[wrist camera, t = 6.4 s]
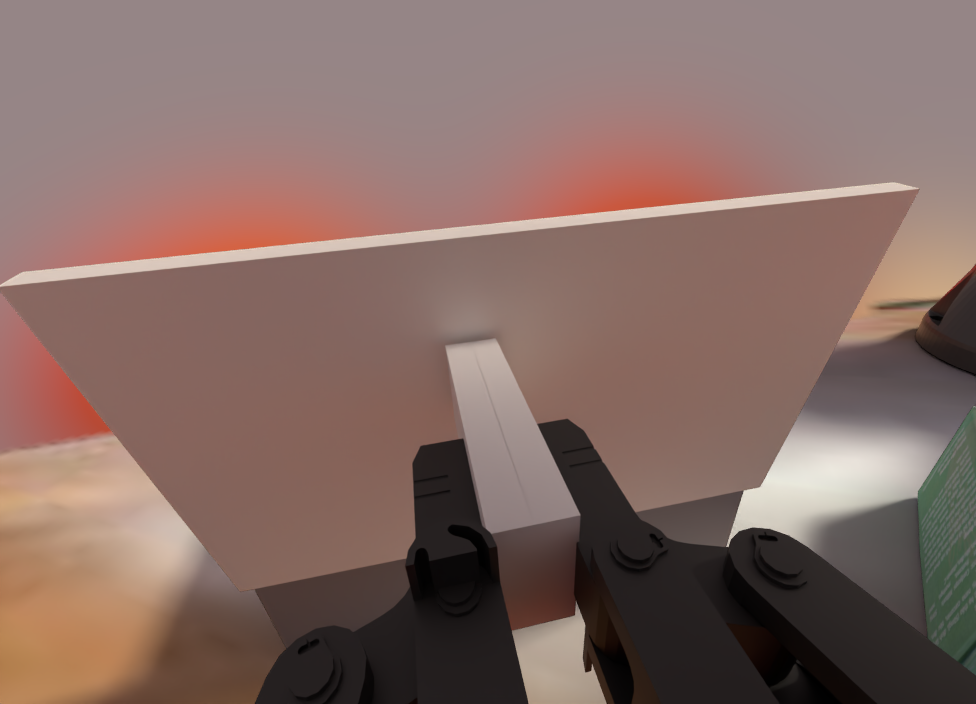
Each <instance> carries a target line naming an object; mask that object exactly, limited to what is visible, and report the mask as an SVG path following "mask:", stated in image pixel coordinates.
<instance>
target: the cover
mask: <svg viewBox="0 0 976 704" xmlns="http://www.w3.org/2000/svg"><path fill="white" fill-rule="evenodd" d="M919 190H920V189H919V188H914V187H911V186H907V185H903V184H899V183H895V182H892V183H883V184H873V185H863V186H853V187H845V188H844V187H843V188H834V189H825V190H814V191H805V192H795V193H785V194H775V195H766V196H757V197H746V198H737V199H728V200H717V201H708V202H698V203H689V204H679V205H669V206H660V207H650V208H640V209H630V210H620V211H611V212H602V213H591V214H582V215H572V216H562V217H553V218H543V219H533V220H523V221H514V222H504V223H494V224H485V225H476V226H465V227H456V228H446V229H436V230H427V231H417V232H407V233H398V234H388V235H378V236H368V237H359V238H349V239H339V240H330V241H320V242H311V243H300V244H292V245H281V246H271V247H262V248H253V249H242V250H233V251H224V252H214V253H205V254H194V255H184V256H174V257H166V258H155V259H145V260H136V261H126V262H116V263H107V264H97V265H87V266H78V267H68V268H59V269H49V270H39V271H29V272H22V273H20V274H18V275H17V276H15V277H13V278H11V279H10V280H8V281H6V282H4V283H3V284H1V285H0V292H1V293H2V294H3V296H4V297H5V298H6V299H7V301H8V302H9V303H10V305H11V306H12V307H13V308H14V309H15V311H16V312H17V313H18V315H19V316H20V317H21V318H22V320H23V321H24V322H25V323H26V324H27V326H28V327H29V328H30V330H31V331H32V332H33V333H34V335H35V336H36V337H37V338H38V339H39V341H40V342H41V343H42V344H43V346H44V347H45V348H46V349H47V351H48V352H49V353H50V355H51V356H52V357H53V358H54V360H55V361H56V362H57V363H58V365H59V366H60V367H61V368H62V369H63V371H64V372H65V373H66V375H67V376H68V377H69V378H70V379H71V381H72V382H73V383H74V385H75V386H76V387H77V388H78V390H79V391H80V392H81V393H82V395H83V396H84V397H85V398H86V400H87V401H88V402H89V403H90V405H91V406H92V407H93V408H94V410H95V411H96V412H97V413H98V414H99V416H100V417H101V418H102V420H103V421H104V422H105V423H106V425H107V426H108V427H109V428H110V430H111V431H112V432H113V433H114V435H115V436H116V437H117V438H118V440H119V441H120V442H121V443H122V445H123V446H124V447H125V448H126V450H127V451H128V452H129V453H130V455H131V456H132V457H133V458H134V460H135V461H136V462H137V463H138V465H139V466H140V467H141V468H142V470H143V471H144V472H145V473H146V475H147V476H148V477H149V478H150V480H151V481H152V482H153V483H154V485H155V486H156V487H157V488H158V490H159V491H160V492H161V493H162V495H163V496H164V497H165V498H166V500H167V501H168V502H169V503H170V505H171V506H172V507H173V508H174V510H175V511H176V512H177V513H178V515H179V516H180V517H181V518H182V520H183V521H184V522H185V523H186V525H187V526H188V527H189V528H190V530H191V531H192V532H193V533H194V535H195V536H196V537H197V538H198V540H199V541H200V542H201V543H202V545H203V546H204V547H205V548H206V550H207V551H208V552H209V553H210V555H211V556H212V557H213V558H214V560H215V561H216V562H217V563H218V565H219V566H220V567H221V568H222V570H223V571H224V572H225V573H226V575H227V576H228V577H229V578H230V580H231V581H232V582H233V583H234V585H235V586H236V587H237V588H238V590H239V591H240V592H242V591H247V590H252V589H257V588H262V587H267V586H272V585H277V584H282V583H287V582H292V581H297V580H302V579H307V578H312V577H317V576H322V575H327V574H332V573H337V572H342V571H346V570H351V569H356V568H361V567H366V566H371V565H376V564H381V563H386V562H391V561H396V560H401V559H406V558H407V553H408V549H409V548H410V546H411V545H412V543H413V542H414V540H415V538H416V537H415V514H414V491H413V485H414V484H413V468H412V462H413V460H414V458H415V456H416V454H417V452H418V450H419V448H420V446H422V445H428V444H434V443H439V442H445V441H451V440H456V439H458V434H457V429H456V424H455V418H454V410H453V402H452V395H451V387H450V379H449V371H448V364H447V356H446V348H445V345H452V344H459V343H466V342H473V341H479V340H486V339H493V338H496V340H497V342H498V344H499V346H500V348H501V350H502V352H503V354H504V357H505V359H506V361H507V363H508V365H509V367H510V369H511V371H512V373H513V375H514V377H515V379H516V382H517V384H518V386H519V388H520V390H521V392H522V394H523V396H524V398H525V400H526V402H527V405H528V407H529V409H530V411H531V413H532V415H533V417H534V419H535V421H536V423H537V424H540V423H545V422H551V421H557V420H562V419H569V420H570V421H571V422H573V423H574V424H576V425H577V426H578V427H580V428H581V429H582V430H584V432H585V433H586V435H587V436H588V438H589V439H590V441H591V443H592V444H593V446H594V449H596V451H597V452H598V454H599V455H600V457H601V459H602V462H603V463H605V465H606V467H607V468H608V470H609V471H610V473H611V475H612V476H613V478H614V479H615V481H616V483H617V484H618V486H619V487H620V489H621V490H622V492H623V494H624V495H625V497H626V498H627V500H628V502H629V503H630V505H631V506H632V508H633V510H634V511H635V512H639V511H644V510H649V509H654V508H659V507H664V506H669V505H674V504H679V503H684V502H689V501H694V500H699V499H703V498H708V497H713V496H718V495H723V494H728V493H733V492H738V491H743V490H748V489H753V488H758V487H760V486H761V484H762V483H763V481H764V479H765V477H766V475H767V473H768V471H769V469H770V468H771V466H772V464H773V462H774V460H775V458H776V456H777V455H778V453H779V451H780V449H781V447H782V445H783V443H784V442H785V440H786V438H787V436H788V434H789V432H790V430H791V428H792V427H793V425H794V423H795V421H796V419H797V417H798V415H799V414H800V412H801V410H802V408H803V406H804V404H805V402H806V400H807V399H808V397H809V395H810V393H811V391H812V389H813V387H814V386H815V384H816V382H817V380H818V378H819V376H820V374H821V373H822V371H823V369H824V367H825V365H826V363H827V361H828V359H829V358H830V356H831V354H832V352H833V350H834V348H835V346H836V345H837V343H838V341H839V339H840V337H841V335H842V333H843V332H844V330H845V328H846V326H847V324H848V322H849V320H850V318H851V317H852V315H853V313H854V311H855V309H856V307H857V305H858V303H859V302H860V300H861V298H862V296H863V294H864V292H865V290H866V289H867V287H868V285H869V283H870V281H871V279H872V277H873V275H874V274H875V272H876V270H877V268H878V266H879V264H880V263H881V261H882V259H883V257H884V255H885V253H886V251H887V249H888V247H889V246H890V244H891V242H892V240H893V238H894V236H895V235H896V233H897V231H898V229H899V227H900V225H901V223H902V221H903V220H904V218H905V216H906V214H907V212H908V210H909V208H910V206H911V205H912V203H913V201H914V199H915V197H916V195H917V194H918V192H919Z"/></svg>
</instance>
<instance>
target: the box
mask: <svg viewBox="0 0 976 704" xmlns="http://www.w3.org/2000/svg"><path fill="white" fill-rule="evenodd" d="M918 517H919V547H920V559H921V570H922V582H923V593H924V604H925V615H926V625H927V637H928V639H929V640H930V641H931V642H933V643H934V644H935V645H937V646H938V647H939V648H941V649H942V650H943V651H945V652H946V653H947V654H949V655H950V656H951V657H952V658H954V659H955V660H956V661H958V662H959V663H960V664H962V665H963V666H964V667H966V668H967V669H968V670H970V671H971V672H972V673H973V674H975V675H976V406H973V407H972V409H971V410H970V412H969V413H968V415H967V416H966V418H965V420H964V421H963V423H962V424H961V426H960V427H959V429H958V431H957V432H956V434H955V435H954V437H953V438H952V440H951V441H950V443H949V445H948V446H947V448H946V449H945V451H944V452H943V454H942V455H941V457H940V458H939V460H938V462H937V463H936V465H935V466H934V468H933V469H932V471H931V472H930V474H929V476H928V477H927V479H926V480H925V482H924V483H923V485H922V486H921V488H920V489H919V491H918Z"/></svg>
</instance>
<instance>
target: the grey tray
mask: <svg viewBox="0 0 976 704" xmlns="http://www.w3.org/2000/svg"><path fill="white" fill-rule="evenodd" d="M743 491H744V490H743ZM743 491H738V492H733V493H728V494H723V495H718V496H713V497H708V498H703V499H699V500H694V501H689V502H684V503H679V504H674V505H669V506H664V507H659V508H654V509H649V510H644V511H639V512H635V513H636V514H637V515H638V517H639V518H640V519H641V520H642V521H645V522H647V523H649V524H651V525H652V526H654V527H656V528H657V529H659V530H661V531H662V532H663V533H664V535H665V536H666V537H667V538H669V539H672V540H674V541H678V542H683V543H689V544H698V545H709V546H720V547H726V546H727V542H728V539H729V536H730V533H731V530H732V526H733V523H734V520H735V517H736V513H737V510H738V507H739V504H740V501H741V497H742V494H743ZM406 559H407V558H406ZM406 559H401V560H396V561H391V562H386V563H381V564H376V565H371V566H366V567H361V568H356V569H351V570H346V571H342V572H337V573H332V574H327V575H322V576H317V577H312V578H307V579H302V580H297V581H292V582H287V583H282V584H277V585H272V586H267V587H262V588H257V589H255V591H256V593H257V595H258V597H259V598H260V600H261V602H262V604H263V606H264V608H265V610H266V611H267V613H268V615H269V617H270V619H271V621H272V623H273V624H274V626H275V628H276V630H277V632H278V634H279V636H280V637H281V639H282V641H283V643H284V645H285V647H286V649H287V648H288V647H289V646H290V645H291V644H292V643H293V642H294V641H295V640H296V639H298V638H300V637H301V636H303V635H305V634H307V633H308V632H310V631H312V630H314V629H316V628H322V627H327V626H332V625H335V626H339V627H343V628H347V629H350V630H351V631H352V632H354V631H356V630H358V629H359V628H361V627H363V626H365V625H366V624H368V623H370V622H372V621H373V620H375V619H377V618H378V617H380V616H382V615H383V614H385V613H386V612H387V611H389V610H390V609H392V608H393V607H394V606H395V605H396V604H397V603H398V602H399V601H400V600H401V599H402V598H403V597H404V596H405V594H406V592H407V591H408V589H409V587H410V584H409V580H408V576H407V572H406V568H405V564H406Z"/></svg>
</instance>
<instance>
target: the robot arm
mask: <svg viewBox="0 0 976 704" xmlns="http://www.w3.org/2000/svg"><path fill="white" fill-rule="evenodd" d="M915 337H916V340H917V342H918V343H919V344H920V345H921V346H922V347H923V348H924V349H925V350H926V351H928V352H929V353H931V354H932V355H934V356H936V357H938V358H939V359H941V360H943V361H945V362H947V363H949V364H952V365H954V366H956V367H959V368H961V369H963V370H966V371H969V372H971V373H974V374H976V264H975V266H974V267H973V268H972V269H971V270H970V271H969V272H968V273H967V274H966V275H965V276H964V277H963V278H962V279H961V280H960V281H959V282H958V283H957V284H956V285H955V286H954V287H953V288H952V289H951V290H950V291H948V292H947V293H946V294H945V295H944V296H943V297H942V298H941V299H940V300H939V301H938V302H937V303H936V304H935V305H934V306H933V307H932V308H931V309H930V310H929V311H928V312H927V313H926V314H925V316H924V317H923V319H922V321H921V324H920V326H919V328H918V330H917V332H916V335H915ZM445 348H446V356H447V364H448V371H449V379H450V387H451V395H452V402H453V410H454V418H455V424H456V429H457V434H458V439H456V440H451V441H445V442H439V443H434V444H428V445H422V446H420V448H419V450H418V452H417V454H416V456H415V458H414V460H413V462H412V468H413V484H414V485H413V491H414V514H415V537H416V538H415V540H414V542H413V543H412V545H411V546H410V548H409V549H408V553H407V559H406V564H405V568H406V572H407V576H408V580H409V584H410V587H409V589H408V591H407V592H406V594H405V596H404V597H403V598H402V599H401V600H400V601H399V602H398V603H397V604H396V605H395V606H394V607H393V608H392V609H390V610H389V611H387V612H386V613H385V614H383V615H382V616H380V617H378V618H377V619H375V620H373V621H372V622H370V623H368V624H366V625H365V626H363V627H361V628H359V629H358V630H356V631H354V632H352V631H351V630H350V629H347V628H343V627H339V626H335V625H332V626H327V627H322V628H316V629H314V630H312V631H310V632H308V633H307V634H305V635H303V636H301V637H300V638H298V639H296V640H295V641H294V642H293V643H292V644H291V645H290V646H289V647H288V648H287V649H286V650H285V651H284V652H283V653H282V654H281V655H280V656H279V657H278V659H277V661H276V662H275V664H274V666H273V667H272V669H271V671H270V672H269V674H268V675H267V677H266V679H265V681H264V684H263V686H262V688H261V691H260V693H259V695H258V697H257V700H256V702H255V704H528V699H527V695H526V691H525V686H524V682H523V678H522V674H521V669H520V665H519V661H518V656H517V652H516V648H515V643H514V639H513V635H512V630H516V629H520V628H525V627H529V626H533V625H537V624H541V623H545V622H549V621H553V620H558V619H562V618H566V617H570V616H574V615H575V604H576V601H577V604H578V606H579V609H580V612H581V614H582V617H583V620H584V622H585V638H584V650H583V662H584V667H585V673H586V672H589V671H591V668H592V664H593V667H594V670H595V672H596V675H597V678H598V681H599V683H600V686H601V689H602V692H603V694H604V697H605V700H606V703H607V704H976V675H975V674H973V673H972V672H971V671H970V670H968V669H967V668H966V667H964V666H963V665H962V664H960V663H959V662H958V661H956V660H955V659H954V658H952V657H951V656H950V655H949V654H947V653H946V652H945V651H943V650H942V649H941V648H939V647H938V646H937V645H935V644H934V643H933V642H931V641H930V640H929V639H928V638H926V637H925V636H924V635H922V634H921V633H920V632H918V631H917V630H916V629H914V628H913V627H912V626H910V625H909V624H908V623H907V622H905V621H904V620H903V619H901V618H900V617H899V616H897V615H896V614H895V613H893V612H892V611H891V610H889V609H888V608H887V607H885V606H884V605H883V604H882V603H880V602H879V601H878V600H876V599H875V598H874V597H872V596H871V595H870V594H868V593H867V592H866V591H864V590H863V589H862V588H861V587H859V586H858V585H857V584H855V583H854V582H853V581H851V580H850V579H849V578H847V577H846V576H845V575H843V574H842V573H841V572H840V571H838V570H837V569H836V568H834V567H833V566H832V565H830V564H829V563H828V562H826V561H825V560H824V559H822V558H821V557H820V556H818V555H817V554H816V553H815V552H813V551H812V550H811V549H809V548H808V547H807V546H805V545H803V544H802V543H800V542H798V541H797V540H795V539H793V538H792V537H790V536H788V535H786V534H783V533H780V532H777V531H774V530H771V529H763V528H749V529H746V530H742V531H739V532H738V533H737V534H736V535H735V536H734V537H733V538H732V539H731V541H730V544H729V547H720V546H709V545H698V544H689V543H683V542H678V541H674V540H672V539H669V538H667V537H666V536H665V535H664V533H663V532H662V531H661V530H659V529H657V528H656V527H654V526H652V525H651V524H649V523H647V522H645V521H642V520H641V519H640V518H639V517H638V515H637V514H636V513H635V511H634V510H633V508H632V506H631V505H630V503H629V502H628V500H627V498H626V497H625V495H624V494H623V492H622V490H621V489H620V487H619V486H618V484H617V483H616V481H615V479H614V478H613V476H612V475H611V473H610V471H609V470H608V468H607V467H606V465H605V463H603V462H602V459H601V457H600V455H599V454H598V452H597V451H596V449H594V446H593V444H592V443H591V441H590V439H589V438H588V436H587V435H586V433H585V432H584V430H582V429H581V428H580V427H578V426H577V425H576V424H574V423H573V422H571V421H570V420H569V419H562V420H557V421H551V422H545V423H540V424H537V423H536V421H535V419H534V417H533V415H532V413H531V411H530V409H529V407H528V405H527V402H526V400H525V398H524V396H523V394H522V392H521V390H520V388H519V386H518V384H517V382H516V379H515V377H514V375H513V373H512V371H511V369H510V367H509V365H508V363H507V361H506V359H505V357H504V354H503V352H502V350H501V348H500V346H499V344H498V342H497V340H496V338H493V339H486V340H479V341H473V342H466V343H459V344H452V345H445Z"/></svg>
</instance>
